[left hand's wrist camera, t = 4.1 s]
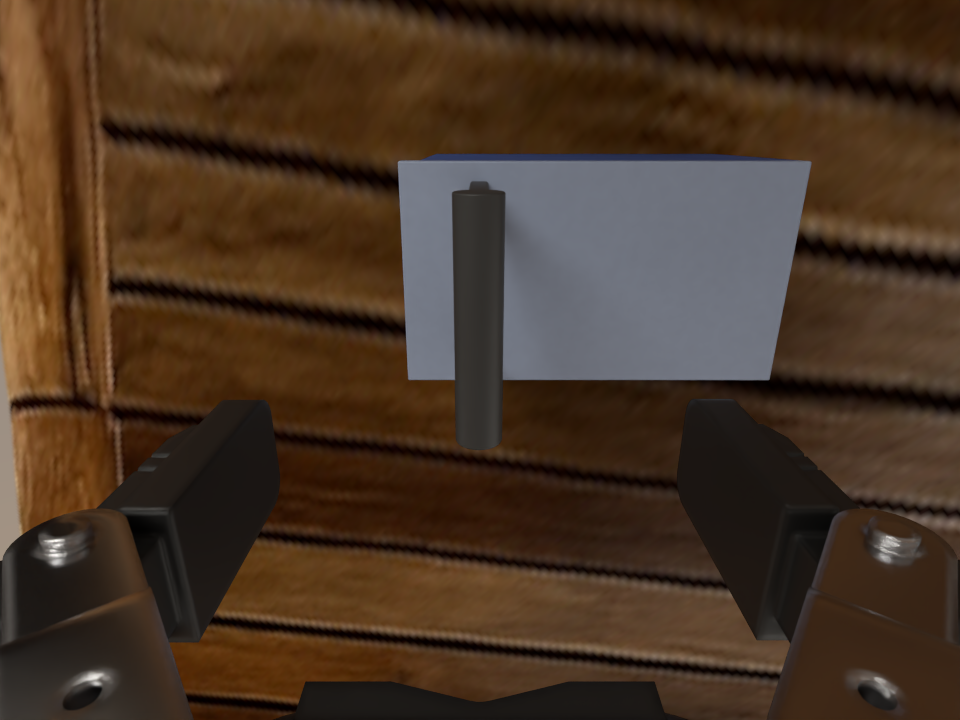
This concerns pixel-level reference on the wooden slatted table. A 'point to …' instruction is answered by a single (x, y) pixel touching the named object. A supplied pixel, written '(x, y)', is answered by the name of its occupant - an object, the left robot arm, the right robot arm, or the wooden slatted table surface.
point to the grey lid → (592, 273)
